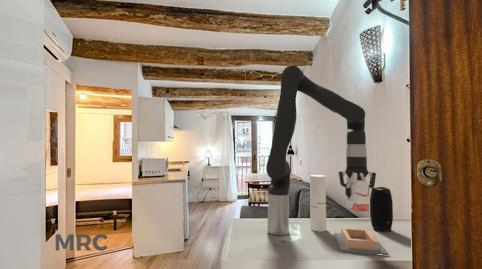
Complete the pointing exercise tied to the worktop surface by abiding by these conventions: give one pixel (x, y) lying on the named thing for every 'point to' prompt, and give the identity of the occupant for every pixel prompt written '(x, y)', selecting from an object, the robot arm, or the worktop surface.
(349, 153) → the robot arm
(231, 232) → the worktop surface
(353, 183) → the ink cartridge box
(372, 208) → the portable speaker
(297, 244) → the worktop surface
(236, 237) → the worktop surface
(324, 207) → the cylindrical container
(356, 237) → the dock
